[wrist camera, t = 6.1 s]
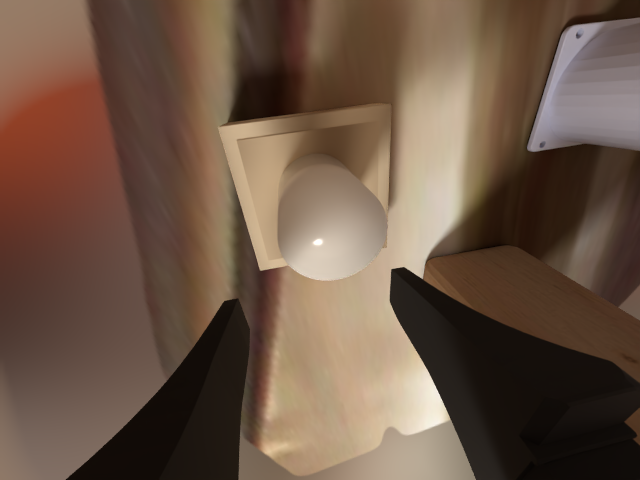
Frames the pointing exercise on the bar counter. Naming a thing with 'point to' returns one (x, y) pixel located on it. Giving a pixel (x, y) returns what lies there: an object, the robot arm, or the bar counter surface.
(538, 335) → the wooden block
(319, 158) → the white rounded cylinder
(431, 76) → the bar counter surface
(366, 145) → the base
